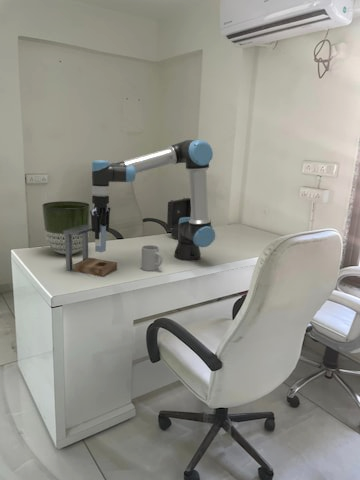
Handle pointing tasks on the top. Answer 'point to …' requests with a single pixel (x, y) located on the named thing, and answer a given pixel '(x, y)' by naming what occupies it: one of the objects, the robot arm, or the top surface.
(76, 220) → the planter
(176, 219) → the watch box
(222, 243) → the top surface
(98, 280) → the top surface
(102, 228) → the peg
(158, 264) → the mug
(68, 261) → the grey arch frame
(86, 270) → the socket block
